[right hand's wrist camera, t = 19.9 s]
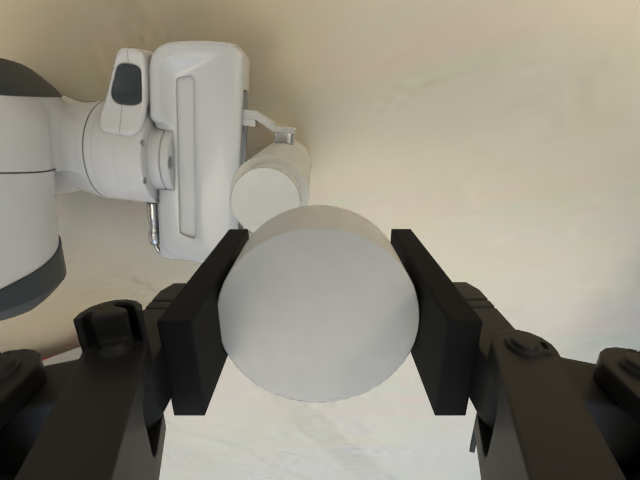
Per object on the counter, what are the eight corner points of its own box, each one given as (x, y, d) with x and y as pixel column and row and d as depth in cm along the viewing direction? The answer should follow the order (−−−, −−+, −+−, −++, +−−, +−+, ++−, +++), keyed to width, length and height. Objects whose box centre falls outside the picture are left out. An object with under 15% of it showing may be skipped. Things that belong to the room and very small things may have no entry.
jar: (302, 131, 38) (293, 148, 20) (316, 178, 40) (318, 230, 22) (256, 145, 38) (209, 173, 21) (272, 191, 40) (239, 251, 23)
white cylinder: (323, 378, 14) (324, 431, 11) (202, 290, 12) (175, 330, 10) (435, 279, 12) (462, 318, 10) (311, 167, 11) (309, 181, 8)
